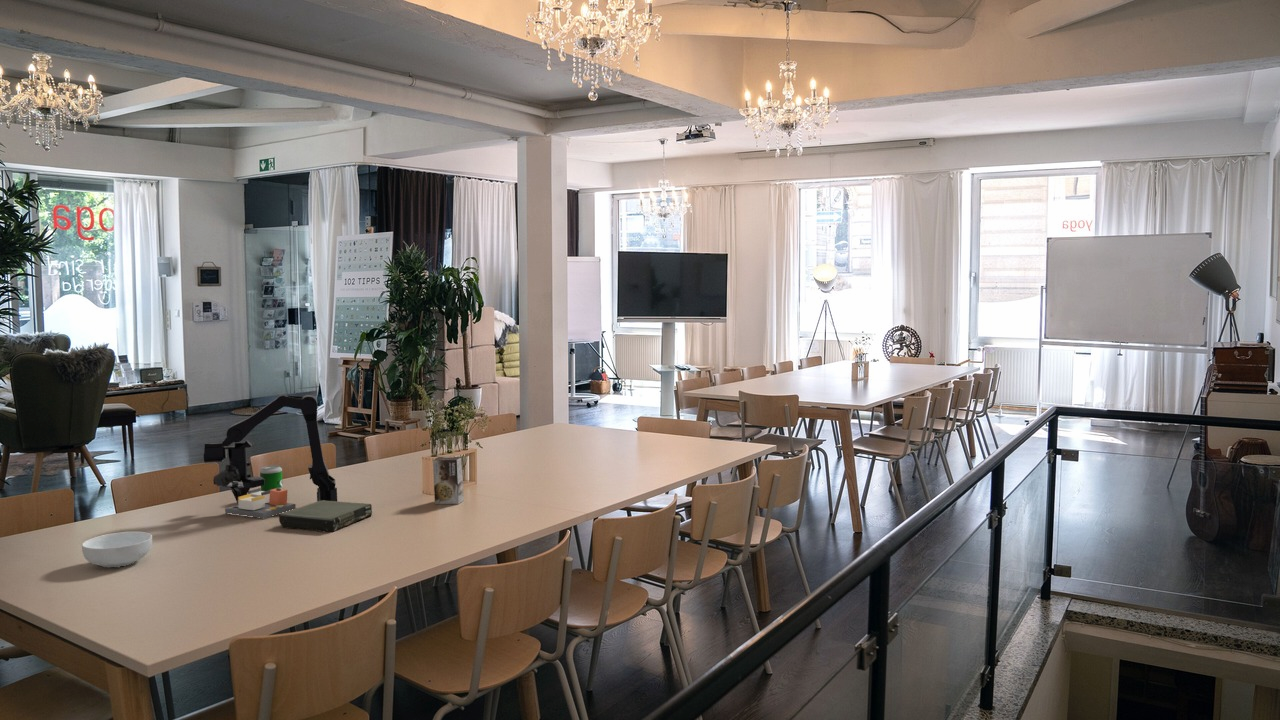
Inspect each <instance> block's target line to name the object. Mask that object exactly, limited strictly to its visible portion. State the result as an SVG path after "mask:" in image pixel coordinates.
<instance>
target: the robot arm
mask: <svg viewBox="0 0 1280 720" xmlns="http://www.w3.org/2000/svg"><path fill="white" fill-rule="evenodd" d="M284 407H285V408H291V409H297V410H300V411H301V413H302V416H303V419H304V421H305V423H306V429H307V435H308V442H309V449H310V454H311V460H312V461H311V462H312V463H311V464H308V467H307V468H308V472H309V480H311V481H312V483H313V485H315V486H316V490H317V491H316V502H317V501H323V500H325V501H337V502H338V487H336V486H337V485H336V479H335V478H334V477H332V475H330V472H329V469H328V466H327V464H326V461H325V459H324V455H323V450H322V444H321V437H320V430H319V424H318V399H317V397H316V396H314V395H312V394H305V395H304V396H300V395H289V394H284V393H282V394H280V395H278V397H276V398H275V399H273V400H272V401H271V402H269V403H268V404H266V405H265V406H264V407H262V408H260V410H258V411H257V412H255V413H253V414H252V415H250V416H248V417H247V418H245V419H242V420H240V421H238V422H236V423H234V424H232V425H231V426H230V427H229V428H228V429H227V431H226V437H225V439H223V440H222V441H221V442H205V443H204V449H203V462H204V463H205V464H212V463H213V464H214V463H223V462H224V460H226V459H227V456H228V464H226V465H225V469H224V470H223V471H222V470H221V472H219V473H218V474H216V475H215V476H213V485H216V487H219V486H220V487H225V488H226V489H229V491H231V493H232V494H233V496H234V499H235V501H236V505H238V497H240V496H243V495H247V494H248V491H250V490H251V489H256V488H260V487H261V486H263V485H265V479H264V478H263V477H260V476H252V475H251V474H250V473H248V467H249V466H251V462H249V461H248V457H247V456H248V455H247V448H252V446H253V444H252V442H250V441H249V440H248V439H246V440H245V441H244V442H241V441H242V440H244V439H245V437H246V436H248V434H251V432H252V431H253V430H254V429H255V428H256V427H257V426H259V425H260V424H261V423H262V422H264V421H265V420H267V419H268V418H270V417H271V416H272V415H274V414H276V413H277V412H278V411H280V410H281V409H283V408H284ZM233 443H234V445H232V444H233ZM251 476H252V477H251Z"/></svg>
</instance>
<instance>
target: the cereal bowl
mask: <svg viewBox="0 0 1280 720" xmlns="http://www.w3.org/2000/svg"><path fill="white" fill-rule="evenodd" d="M152 546H153V535H152V534H151V533H149V532H145V531H121V532H112V533H108V534H103V535H99V536H95V537H92V538H89V539H87V540H85V541H83V542H82V545H81V549H82V550H81V552H82V554H83V557H84V559H85V560H86V561H87V562H88V563H90V564H93V565H96V566H102V567H103V568H105V567H118V568H121V567H120V566H124V567H127V566H130V565H132V564H131V563H133V564H134V563H135V562H136V561H138V560H141V559H143V558H144V557H145V556H147V555H148V554H149V553H150V551H151V549H152ZM129 564H130V565H129ZM126 565H127V566H126Z"/></svg>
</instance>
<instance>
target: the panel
mask: <svg viewBox="0 0 1280 720" xmlns="http://www.w3.org/2000/svg"><path fill="white" fill-rule="evenodd" d="M292 509H296V503H291V502H287V504H284V505H277V506H275V505H271V504H269V502H268V503H265V507H263V508H260V509H256V510H247V509H239V508H238V504H236V505H232V506H229V507H225V508H224V512H225V513H232V514H239V515H247V516H253V517H260V518H265V519H267V518H266V517H269V516H272V515H275V516H277V515H276V514H279V513H282V512H286V511H289V510H292ZM279 515H280V514H279ZM272 517H273V516H272ZM260 518H259V519H260ZM269 518H270V517H269Z"/></svg>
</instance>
